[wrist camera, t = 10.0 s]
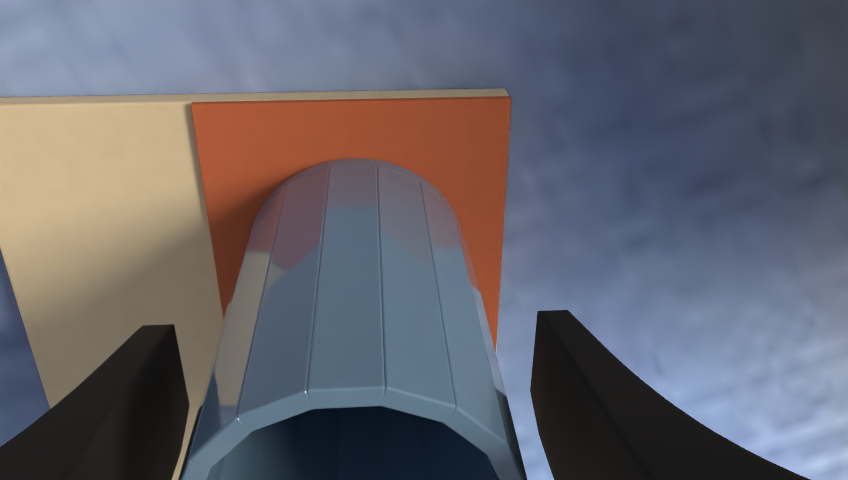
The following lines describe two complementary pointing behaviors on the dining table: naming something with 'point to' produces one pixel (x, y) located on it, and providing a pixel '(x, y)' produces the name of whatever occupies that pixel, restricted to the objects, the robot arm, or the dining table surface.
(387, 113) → the cutting board
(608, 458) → the robot arm
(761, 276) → the dining table surface
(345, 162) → the tumbler
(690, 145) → the dining table surface
